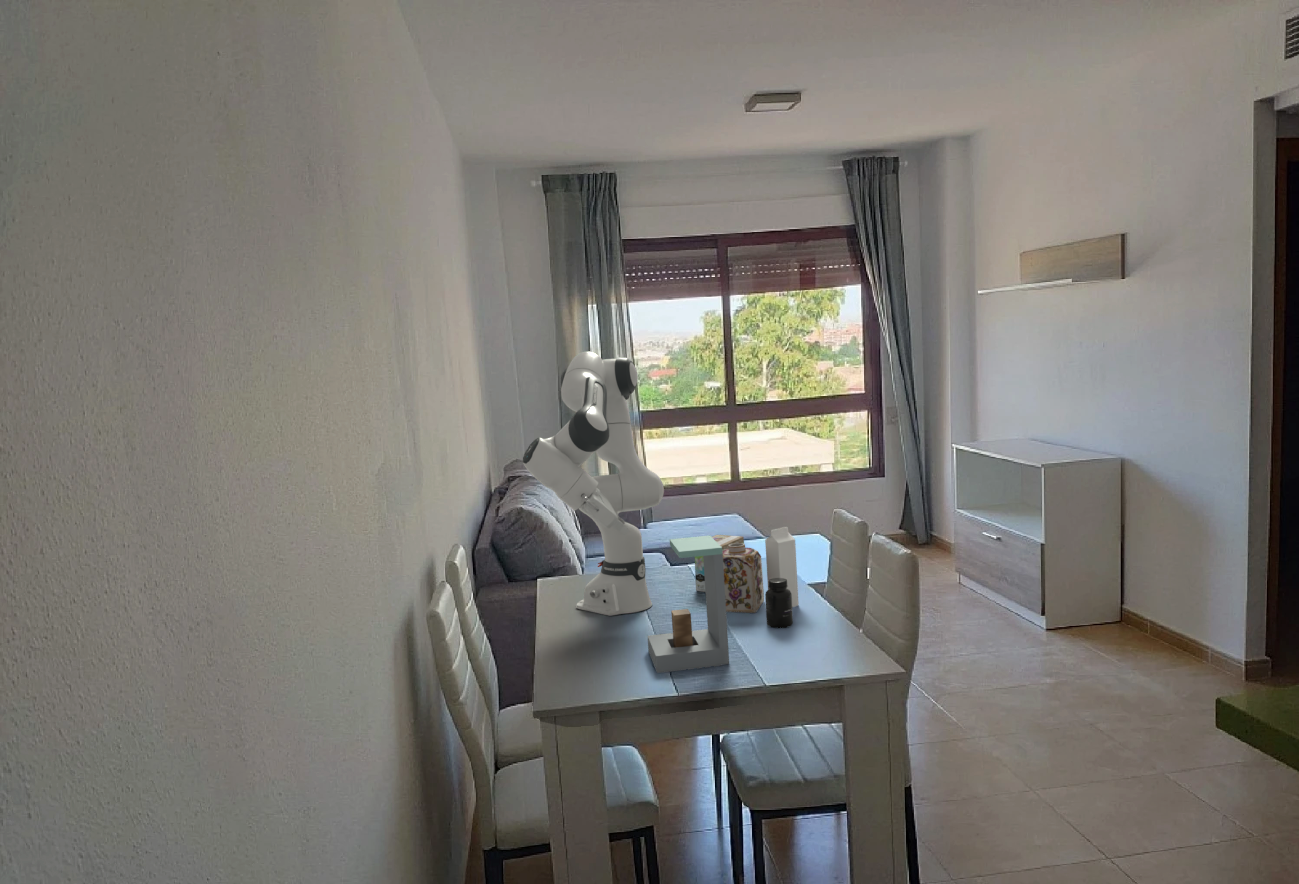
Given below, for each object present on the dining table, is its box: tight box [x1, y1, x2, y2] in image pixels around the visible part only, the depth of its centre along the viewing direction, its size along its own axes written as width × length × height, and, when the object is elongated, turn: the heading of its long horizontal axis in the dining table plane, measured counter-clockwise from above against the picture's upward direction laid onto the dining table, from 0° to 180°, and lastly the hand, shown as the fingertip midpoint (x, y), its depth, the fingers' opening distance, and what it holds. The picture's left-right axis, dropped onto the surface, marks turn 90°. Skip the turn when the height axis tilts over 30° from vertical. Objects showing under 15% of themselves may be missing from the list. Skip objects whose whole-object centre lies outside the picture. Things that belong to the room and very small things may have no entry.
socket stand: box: [647, 535, 730, 674], centre depth 208 cm, size 17×15×28 cm
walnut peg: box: [670, 608, 693, 648], centre depth 209 cm, size 4×4×11 cm
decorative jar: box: [722, 542, 765, 614], centre depth 247 cm, size 12×12×18 cm
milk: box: [764, 526, 800, 608], centre depth 245 cm, size 6×6×22 cm
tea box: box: [694, 534, 745, 593], centre depth 269 cm, size 15×10×15 cm, turn 148°
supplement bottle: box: [764, 578, 794, 629], centre depth 229 cm, size 7×7×12 cm
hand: (624, 528), depth 211 cm, fingers open, 8 cm apart
